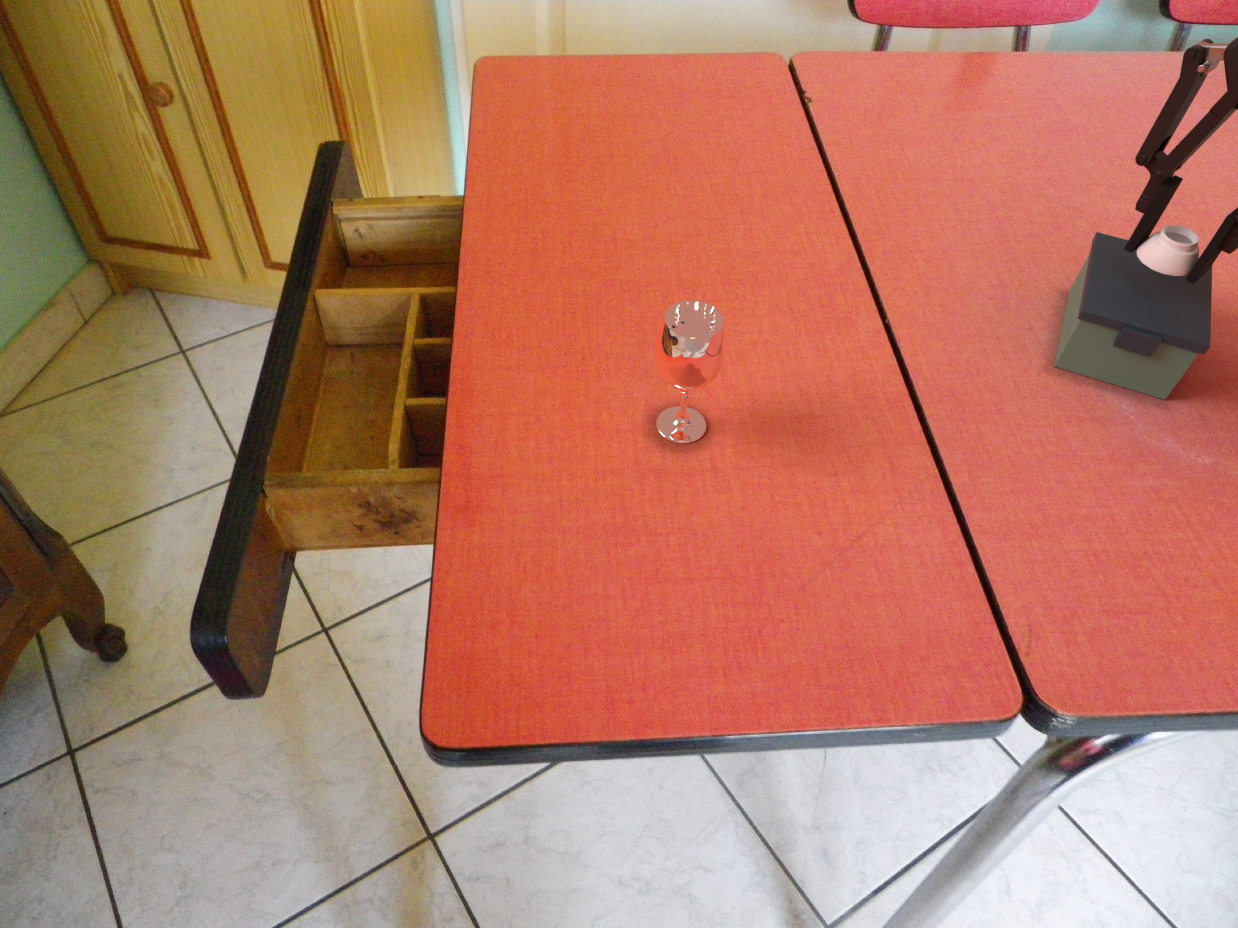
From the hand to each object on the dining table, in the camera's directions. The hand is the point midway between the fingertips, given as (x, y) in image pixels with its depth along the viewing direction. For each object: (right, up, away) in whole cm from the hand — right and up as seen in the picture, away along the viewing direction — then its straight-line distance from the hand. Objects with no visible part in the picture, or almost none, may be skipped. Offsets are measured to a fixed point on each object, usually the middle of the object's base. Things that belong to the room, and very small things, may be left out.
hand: (1165, 260), depth 77 cm
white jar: (0, 0, 0) cm, 0 cm away
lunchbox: (0, -6, +7) cm, 10 cm away
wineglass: (-44, -15, -1) cm, 46 cm away
